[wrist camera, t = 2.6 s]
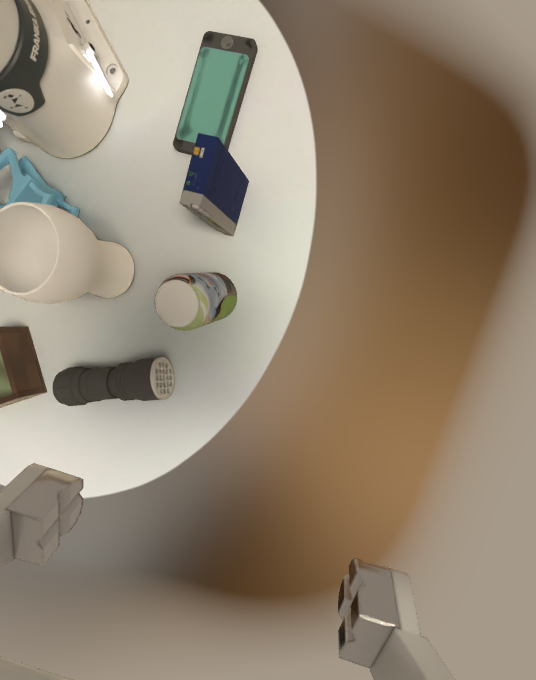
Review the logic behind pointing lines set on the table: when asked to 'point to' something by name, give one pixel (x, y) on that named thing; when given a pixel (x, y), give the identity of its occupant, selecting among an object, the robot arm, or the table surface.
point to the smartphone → (215, 89)
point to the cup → (57, 256)
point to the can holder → (18, 366)
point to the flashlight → (115, 382)
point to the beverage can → (195, 299)
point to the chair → (30, 184)
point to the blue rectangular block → (214, 185)
